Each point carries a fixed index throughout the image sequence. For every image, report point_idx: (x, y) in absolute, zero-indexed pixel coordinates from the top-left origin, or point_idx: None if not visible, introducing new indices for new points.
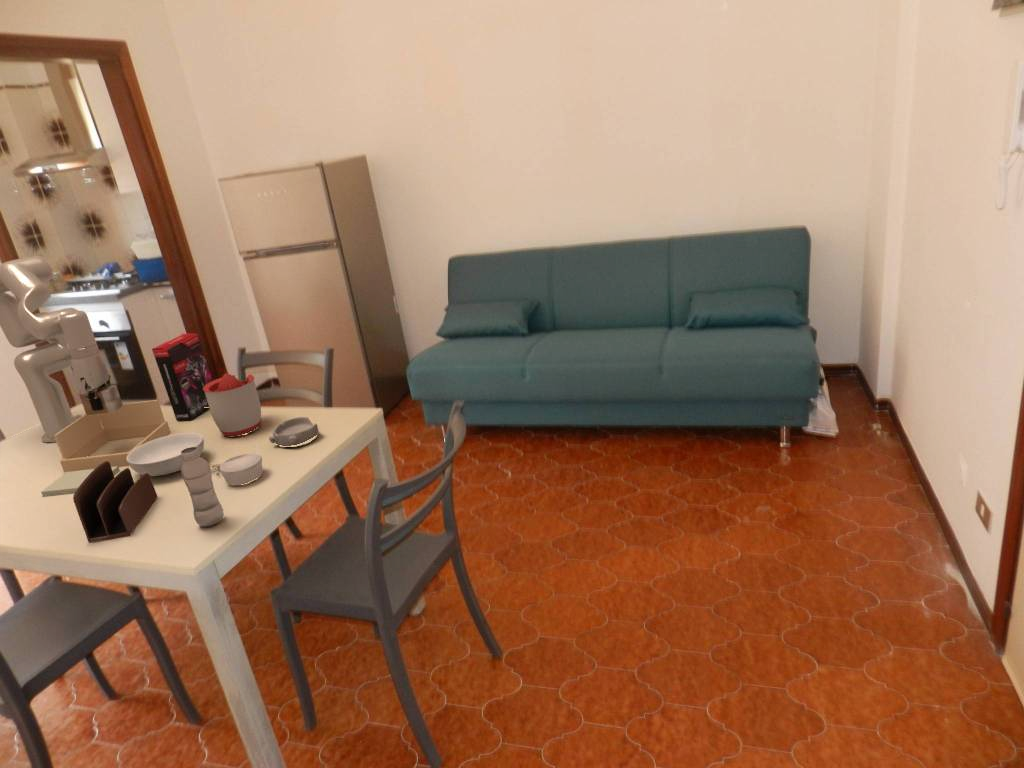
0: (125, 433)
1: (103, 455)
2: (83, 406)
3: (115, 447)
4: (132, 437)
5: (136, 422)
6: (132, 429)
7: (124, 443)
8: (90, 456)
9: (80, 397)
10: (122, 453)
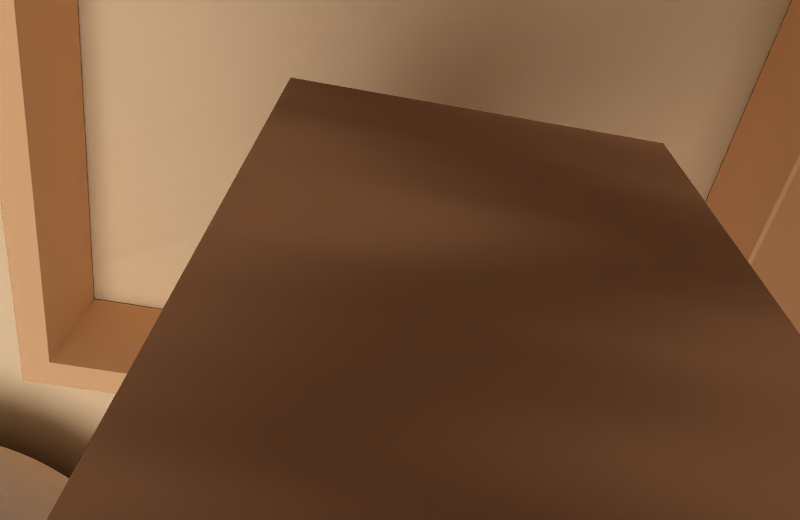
0: (791, 75)
1: (14, 158)
2: (238, 172)
3: (560, 12)
4: (743, 115)
5: (775, 268)
6: (767, 174)
7: (623, 76)
8: (12, 12)
9: (120, 389)
10: (30, 320)
